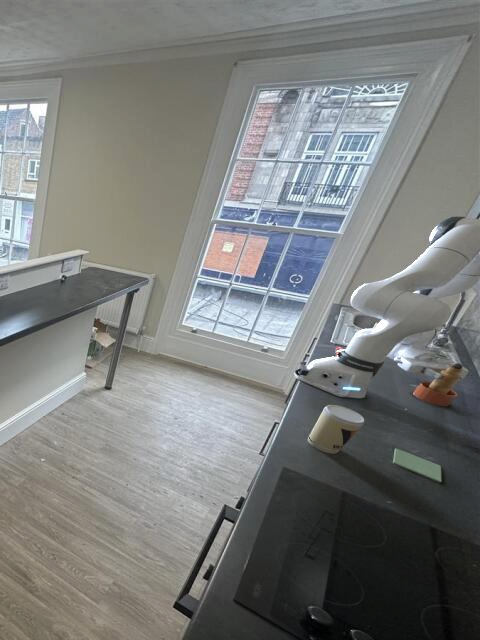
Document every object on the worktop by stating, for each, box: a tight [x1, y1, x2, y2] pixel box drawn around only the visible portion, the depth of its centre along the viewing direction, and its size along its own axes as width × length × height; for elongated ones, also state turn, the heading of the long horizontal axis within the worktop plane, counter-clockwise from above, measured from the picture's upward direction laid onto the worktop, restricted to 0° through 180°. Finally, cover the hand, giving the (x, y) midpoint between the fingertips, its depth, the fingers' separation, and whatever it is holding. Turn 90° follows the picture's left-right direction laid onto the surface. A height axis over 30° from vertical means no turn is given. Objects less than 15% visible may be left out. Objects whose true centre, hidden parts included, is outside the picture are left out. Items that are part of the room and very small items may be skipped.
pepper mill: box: [428, 362, 464, 395], centre depth 148 cm, size 5×5×15 cm
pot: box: [412, 381, 459, 407], centre depth 151 cm, size 10×10×5 cm
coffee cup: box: [307, 404, 365, 455], centre depth 118 cm, size 9×9×12 cm
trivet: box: [392, 447, 443, 484], centre depth 116 cm, size 10×10×1 cm
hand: (450, 378), depth 146 cm, fingers closed on pepper mill, 5 cm apart
